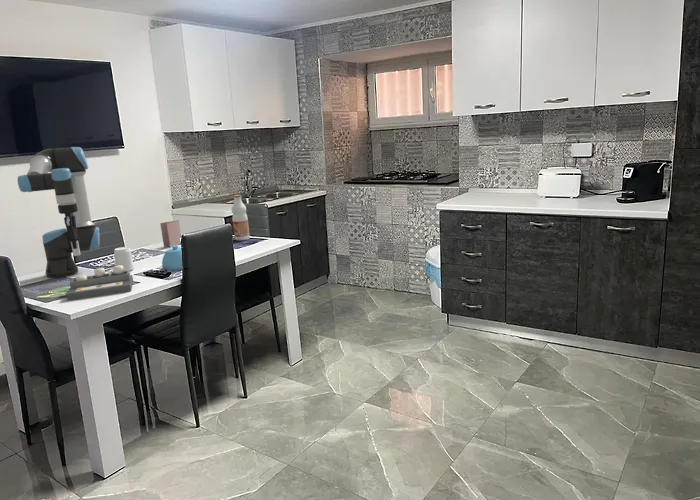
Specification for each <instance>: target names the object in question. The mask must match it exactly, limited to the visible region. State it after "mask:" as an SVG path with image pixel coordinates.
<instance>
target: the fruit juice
mask: <svg viewBox="0 0 700 500" xmlns="http://www.w3.org/2000/svg"><path fill="white" fill-rule="evenodd" d="M232 198H233V200H234V201H233V205H232V206H231V213H232V225H233V234H234V235H233V236H234V240H235V241H247V240H249V239H250V228H249V219H248V214H247V207H246V205H245V204H244V203H243V201H242V194H234V195H233V197H232Z"/></svg>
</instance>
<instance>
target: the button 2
mask: <svg viewBox="0 0 700 500" xmlns="http://www.w3.org/2000/svg"><path fill="white" fill-rule="evenodd" d="M112 272H113V273H114V274H121V273H124V269H123V265H118V266H116V265H115V266H114V265H113V266H112Z"/></svg>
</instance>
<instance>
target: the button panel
mask: <svg viewBox="0 0 700 500" xmlns="http://www.w3.org/2000/svg"><path fill="white" fill-rule="evenodd" d="M105 274H106V275H104V276H100V277H95V274H94V275H86V276H87V280H80V281H76V277H73V278H71V280H70V281H69V285H70V287H69V289H68V291H67V292H66V293H65V294H66V300H67V301H74V300H81V299H87V298H94V297H100V296H101V297H102V296H108V295H114V294H121V293H128V292H132V288H133V283H134V277H133V274H131V271H130V270H129V271H124V273H121V274H114V272H108V273H105Z"/></svg>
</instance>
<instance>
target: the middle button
mask: <svg viewBox="0 0 700 500" xmlns="http://www.w3.org/2000/svg"><path fill="white" fill-rule="evenodd" d="M93 271H94V275H95V277H100V276H104V275H106V274H107V273H106V270H105V267H97V268H95V269H93Z"/></svg>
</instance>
